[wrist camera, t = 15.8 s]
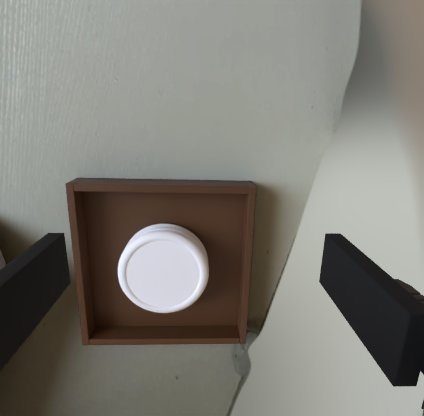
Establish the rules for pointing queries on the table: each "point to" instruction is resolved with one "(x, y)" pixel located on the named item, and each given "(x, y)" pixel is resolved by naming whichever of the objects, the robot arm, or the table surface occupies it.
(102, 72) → the table surface
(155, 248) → the coaster
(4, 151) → the table surface
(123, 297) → the holder
